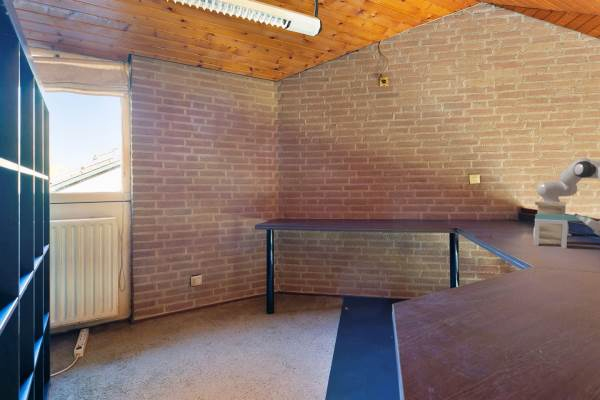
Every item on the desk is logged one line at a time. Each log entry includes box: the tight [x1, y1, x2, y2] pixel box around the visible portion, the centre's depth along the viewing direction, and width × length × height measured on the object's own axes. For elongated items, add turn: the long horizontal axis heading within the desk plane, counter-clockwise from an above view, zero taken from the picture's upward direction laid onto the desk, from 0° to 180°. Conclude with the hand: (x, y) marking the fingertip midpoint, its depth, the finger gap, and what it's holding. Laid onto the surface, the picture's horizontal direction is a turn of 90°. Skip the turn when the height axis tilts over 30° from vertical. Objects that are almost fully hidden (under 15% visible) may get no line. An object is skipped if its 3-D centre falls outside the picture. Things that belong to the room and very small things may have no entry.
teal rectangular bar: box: [534, 213, 589, 223], centre depth 186 cm, size 3×24×3 cm, turn 54°
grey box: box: [533, 218, 569, 249], centre depth 189 cm, size 8×15×16 cm, turn 54°
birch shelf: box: [534, 200, 567, 245], centre depth 199 cm, size 8×15×26 cm, turn 54°
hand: (575, 215), depth 182 cm, fingers open, 7 cm apart
